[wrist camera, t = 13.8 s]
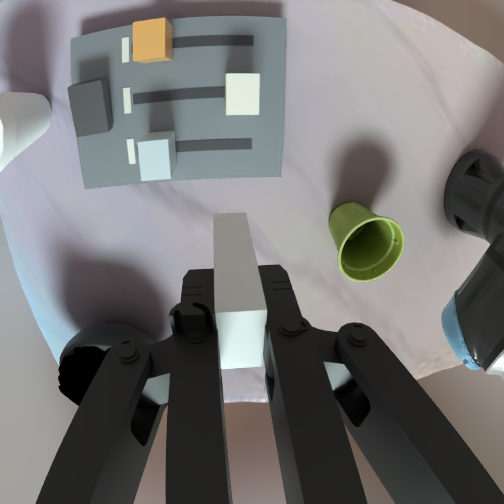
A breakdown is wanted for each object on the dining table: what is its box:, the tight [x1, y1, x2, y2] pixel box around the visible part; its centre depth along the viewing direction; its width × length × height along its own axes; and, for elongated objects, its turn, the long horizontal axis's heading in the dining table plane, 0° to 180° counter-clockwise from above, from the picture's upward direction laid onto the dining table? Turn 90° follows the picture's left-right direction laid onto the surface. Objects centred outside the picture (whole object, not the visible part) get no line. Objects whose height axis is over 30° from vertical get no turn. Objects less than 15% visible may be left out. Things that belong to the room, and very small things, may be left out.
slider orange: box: [133, 18, 173, 63], centre depth 23 cm, size 3×4×5 cm
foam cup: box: [0, 92, 52, 172], centre depth 24 cm, size 10×9×13 cm
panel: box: [71, 16, 286, 189], centre depth 30 cm, size 24×19×4 cm
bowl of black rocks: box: [58, 323, 168, 410], centre depth 43 cm, size 20×20×19 cm
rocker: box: [68, 77, 113, 137], centre depth 26 cm, size 4×6×2 cm, turn 179°
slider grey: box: [137, 131, 177, 181], centre depth 29 cm, size 3×4×5 cm
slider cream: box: [225, 73, 260, 115], centre depth 27 cm, size 3×4×5 cm
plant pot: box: [329, 202, 404, 282], centre depth 39 cm, size 9×9×9 cm
